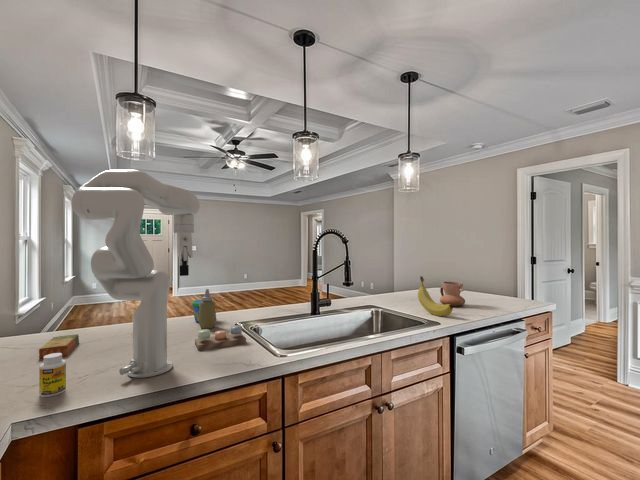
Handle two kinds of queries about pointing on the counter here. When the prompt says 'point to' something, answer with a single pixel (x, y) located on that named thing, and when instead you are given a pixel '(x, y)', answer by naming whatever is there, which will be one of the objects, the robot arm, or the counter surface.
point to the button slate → (236, 329)
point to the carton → (59, 345)
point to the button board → (220, 342)
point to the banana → (432, 302)
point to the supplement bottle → (52, 375)
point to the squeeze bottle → (207, 312)
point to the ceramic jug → (452, 294)
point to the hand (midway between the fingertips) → (184, 275)
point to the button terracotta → (220, 335)
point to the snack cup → (196, 308)
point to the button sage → (203, 334)
